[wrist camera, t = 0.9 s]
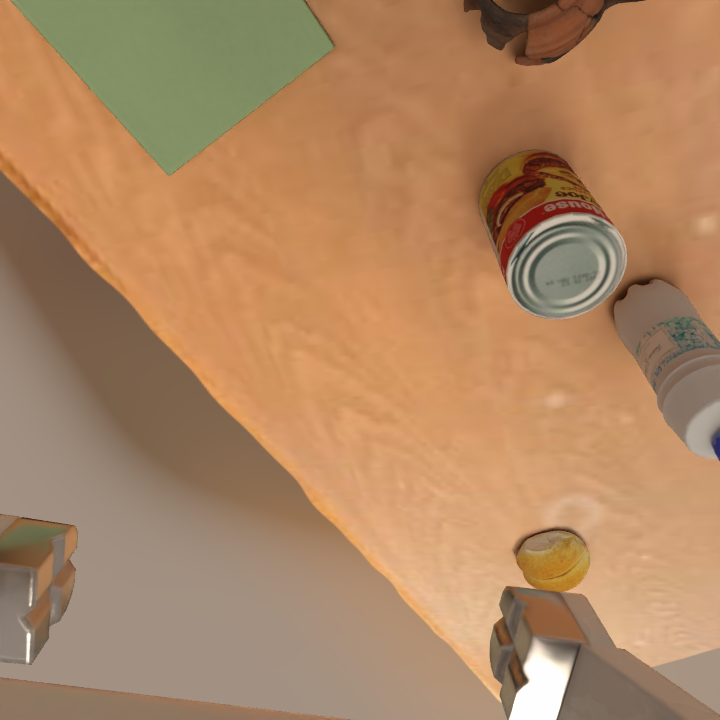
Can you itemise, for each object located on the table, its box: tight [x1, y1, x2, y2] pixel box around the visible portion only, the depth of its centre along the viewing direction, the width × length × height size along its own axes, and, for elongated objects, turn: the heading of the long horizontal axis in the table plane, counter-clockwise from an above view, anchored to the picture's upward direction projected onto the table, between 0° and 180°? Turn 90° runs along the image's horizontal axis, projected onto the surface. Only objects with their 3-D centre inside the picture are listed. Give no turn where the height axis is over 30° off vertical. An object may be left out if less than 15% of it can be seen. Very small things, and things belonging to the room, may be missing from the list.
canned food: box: [479, 150, 627, 319], centre depth 48 cm, size 8×8×12 cm
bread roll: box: [517, 530, 590, 592], centre depth 78 cm, size 8×9×4 cm
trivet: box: [11, 0, 335, 176], centre depth 45 cm, size 18×16×1 cm
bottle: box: [614, 279, 720, 461], centre depth 51 cm, size 7×7×20 cm
